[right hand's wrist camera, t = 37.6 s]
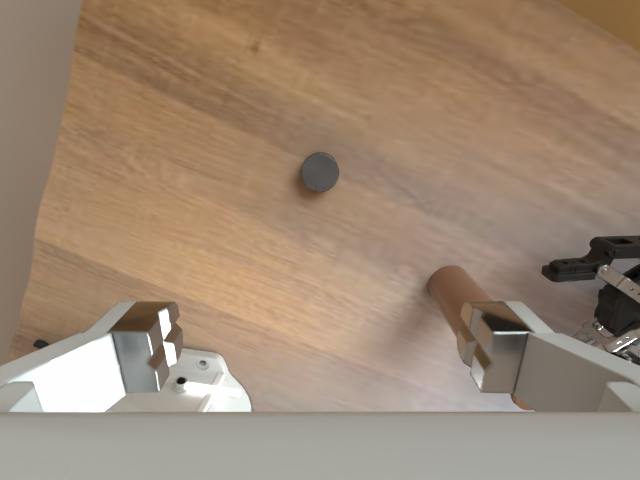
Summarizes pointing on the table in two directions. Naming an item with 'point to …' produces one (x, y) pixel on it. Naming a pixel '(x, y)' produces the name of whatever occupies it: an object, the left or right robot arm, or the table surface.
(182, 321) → the table surface
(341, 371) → the table surface
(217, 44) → the table surface
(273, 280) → the table surface
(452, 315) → the bottle
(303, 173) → the cap
